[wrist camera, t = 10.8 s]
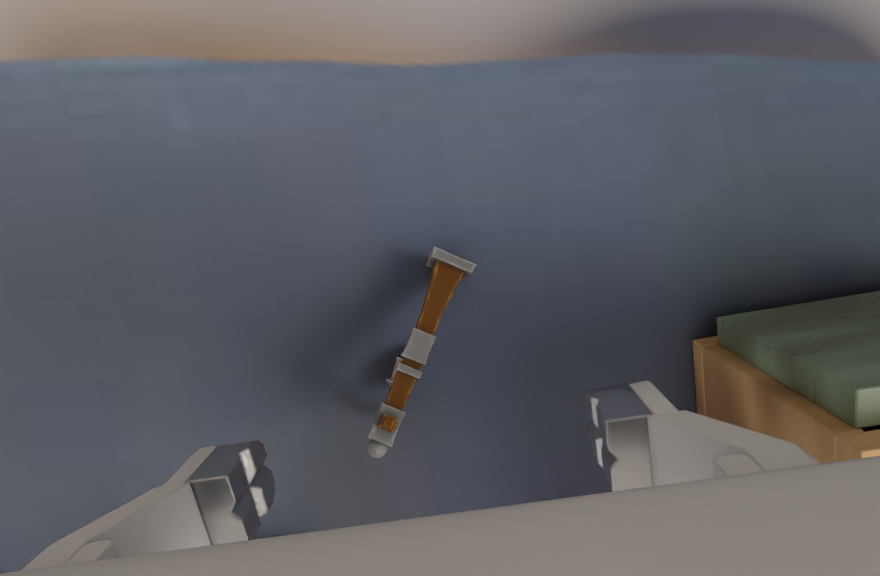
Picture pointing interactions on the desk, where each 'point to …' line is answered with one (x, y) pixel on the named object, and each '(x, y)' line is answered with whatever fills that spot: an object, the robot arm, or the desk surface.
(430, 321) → the wooden post with brackets
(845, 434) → the cabinet
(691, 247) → the desk surface
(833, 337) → the drawer
